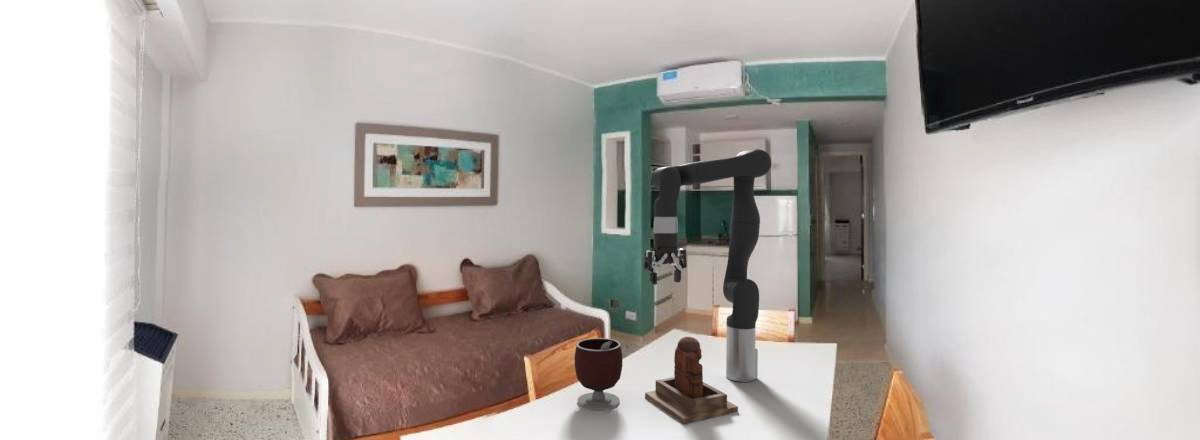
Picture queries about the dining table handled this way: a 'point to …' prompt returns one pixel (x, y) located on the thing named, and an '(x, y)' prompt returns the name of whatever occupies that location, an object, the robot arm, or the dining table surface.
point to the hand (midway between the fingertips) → (665, 283)
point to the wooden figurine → (688, 368)
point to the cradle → (690, 402)
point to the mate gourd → (598, 372)
